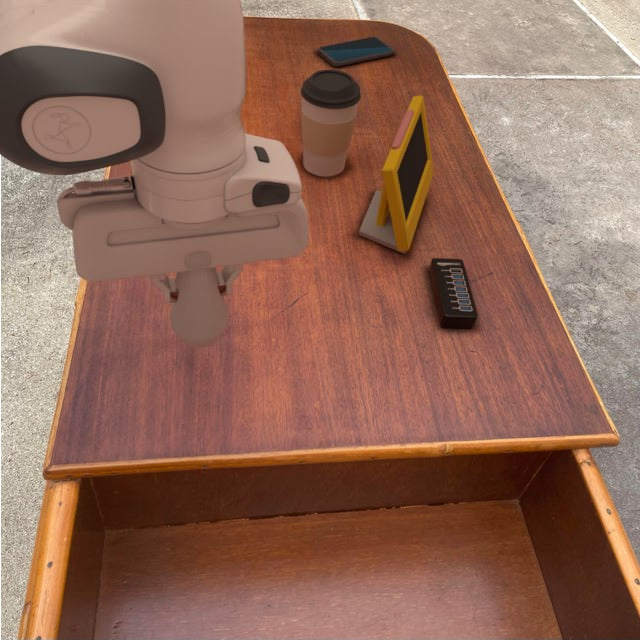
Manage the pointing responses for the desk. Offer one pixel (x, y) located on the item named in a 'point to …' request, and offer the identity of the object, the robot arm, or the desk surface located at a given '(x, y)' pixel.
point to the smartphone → (355, 51)
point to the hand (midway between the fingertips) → (198, 294)
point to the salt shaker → (198, 303)
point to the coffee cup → (328, 120)
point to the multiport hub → (452, 294)
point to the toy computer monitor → (402, 183)
